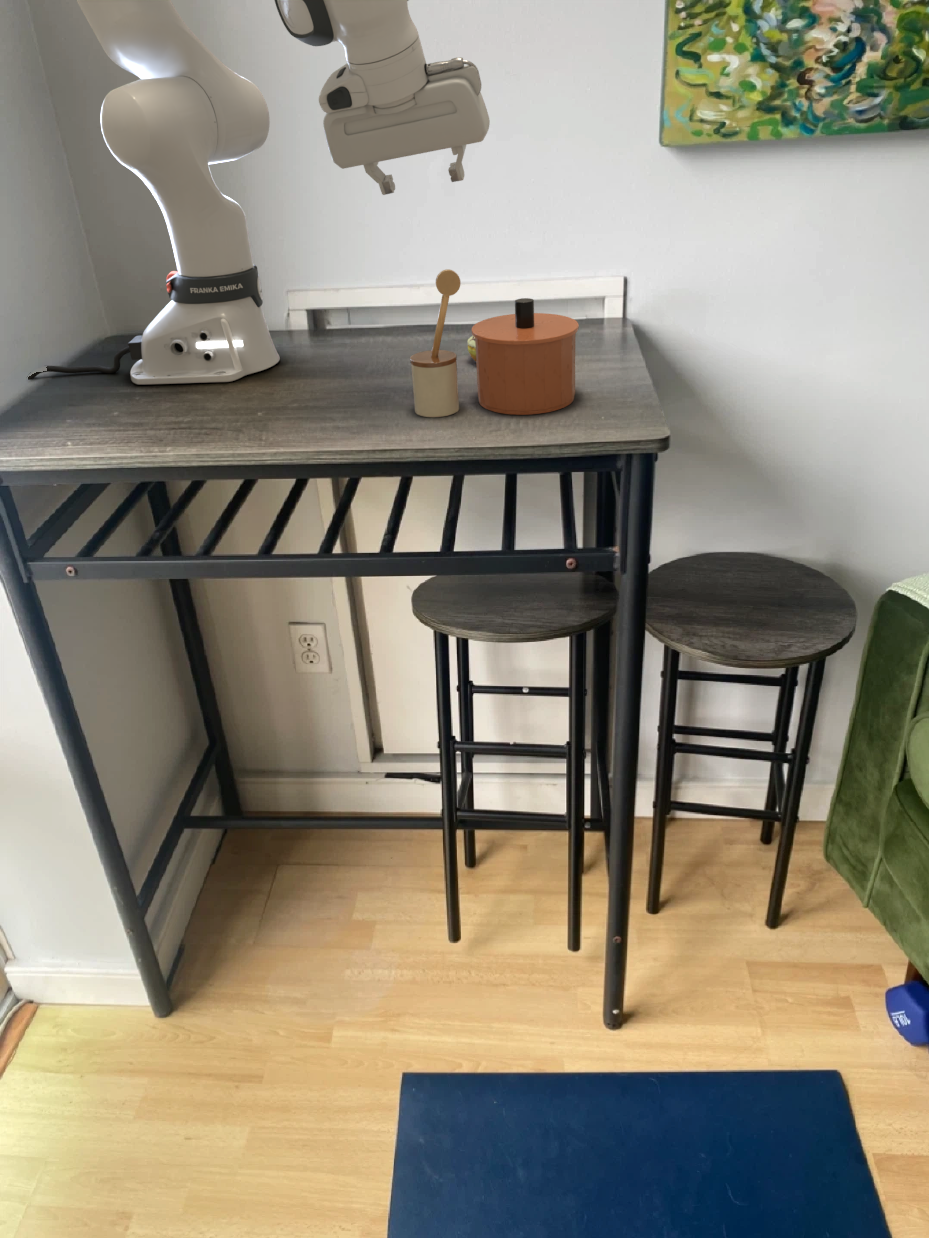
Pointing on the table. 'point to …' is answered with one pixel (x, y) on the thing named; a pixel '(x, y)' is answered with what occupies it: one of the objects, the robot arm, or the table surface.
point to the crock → (437, 363)
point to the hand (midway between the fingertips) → (423, 185)
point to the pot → (526, 376)
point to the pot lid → (525, 326)
